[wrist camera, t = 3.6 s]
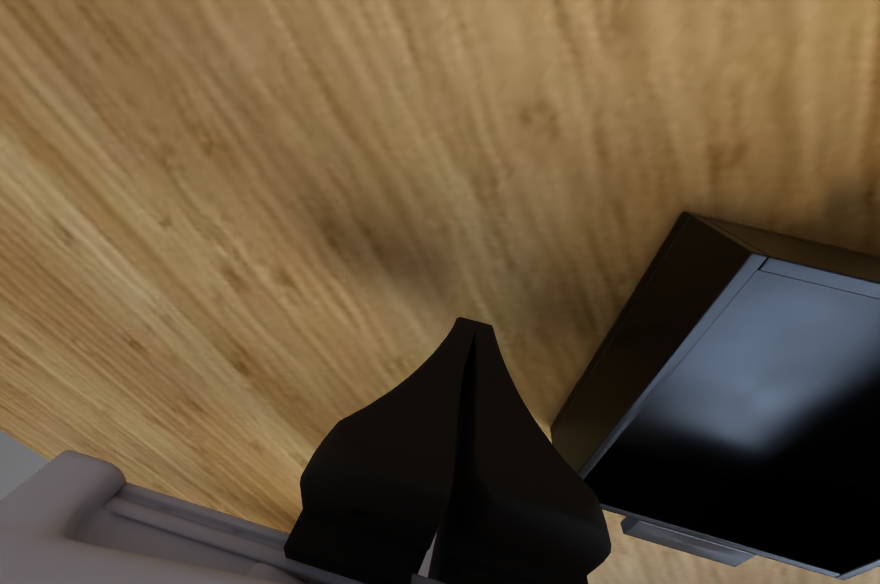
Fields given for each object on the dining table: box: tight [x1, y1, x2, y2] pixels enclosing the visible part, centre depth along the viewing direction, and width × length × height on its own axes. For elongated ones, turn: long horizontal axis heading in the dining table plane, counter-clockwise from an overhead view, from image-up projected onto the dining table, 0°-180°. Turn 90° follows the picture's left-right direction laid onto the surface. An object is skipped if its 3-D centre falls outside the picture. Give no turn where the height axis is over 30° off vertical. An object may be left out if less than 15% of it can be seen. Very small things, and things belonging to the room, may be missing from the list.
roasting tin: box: [550, 211, 880, 580], centre depth 12 cm, size 12×15×4 cm
